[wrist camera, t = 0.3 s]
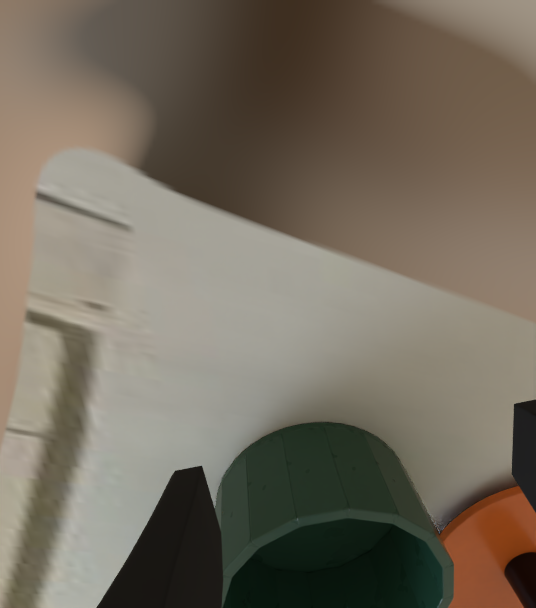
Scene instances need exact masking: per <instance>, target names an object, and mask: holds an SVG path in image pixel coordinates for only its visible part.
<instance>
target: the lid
mask: <svg viewBox="0 0 536 608" xmlns="http://www.w3.org/2000/svg"><path fill="white" fill-rule="evenodd" d="M440 537H441V539H442V541H443V543H444V545H445V547H446V549H447V551H448V553H449V555H450V557H451V559H452V561H453V563H454V597H453V600H452V602H451V604H450V605H449V607H448V608H536V512H535V511H534V509H533V508H532V506H531V505H530V503H529V502H528V500H527V498H526V497H525V495H524V494H523V492H522V490H521V489H520V487H519V486H516V487H512V488H509V489H506V490H503V491H500V492H498V493H495V494H493V495H491V496H489V497H486V498H484V499H483V500H481V501H479V502H477V503H475V504H474V505H472V506H471V507H469V508H468V509H466V510H465V511H463V512H462V513H461V514H460V515H458V516H457V517H456V518H455V519H454V520H452V521H451V522H450V523H449V524H448V525H447V526H446V528H445V529H444V530H443V531H442V532H441V533H440Z"/></svg>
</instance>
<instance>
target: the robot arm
mask: <svg viewBox="0 0 536 608" xmlns="http://www.w3.org/2000/svg"><path fill="white" fill-rule="evenodd" d="M512 475H513V477H514V479H515V480H516V482H517V484H518V485H519V487H520V489H521V490H522V492H523V494H524V495H525V497H526V498H527V500H528V502H529V503H530V505H531V506H532V508H533V509H534V511H535V512H536V400H531V401H526V402H521V403H516V404H514V423H513V452H512ZM222 592H223V559H222V538H221V530H220V526H219V523H218V519H217V516H216V512H215V509H214V505H213V502H212V499H211V495H210V492H209V488H208V485H207V481H206V478H205V474H204V471H203V468H202V466H198V467H193V468H188V469H183V470H177V471H175V472H174V474H173V475H172V476H171V478H170V480H169V482H168V484H167V486H166V488H165V490H164V492H163V494H162V496H161V498H160V500H159V502H158V504H157V506H156V508H155V510H154V512H153V514H152V516H151V517H150V519H149V521H148V523H147V525H146V527H145V528H144V530H143V532H142V534H141V536H140V537H139V539H138V541H137V543H136V544H135V546H134V548H133V550H132V551H131V553H130V555H129V557H128V558H127V560H126V562H125V563H124V565H123V567H122V568H121V570H120V571H119V573H118V575H117V576H116V578H115V579H114V581H113V583H112V584H111V586H110V587H109V589H108V591H107V592H106V594H105V595H104V597H103V599H102V600H101V602H100V603H99V605H98V606H97V608H222Z"/></svg>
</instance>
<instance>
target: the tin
mask: <svg viewBox="0 0 536 608" xmlns="http://www.w3.org/2000/svg"><path fill="white" fill-rule="evenodd" d="M215 512H216V516H217V519H218V523H219V526H220V530H221V538H222V559H223V592H222V608H448V607H449V605H450V604H451V602H452V600H453V597H454V563H453V561H452V559H451V557H450V555H449V553H448V551H447V549H446V547H445V545H444V543H443V541H442V539H441V537H440V535H439V534H438V532H437V530H436V528H435V526H434V524H433V522H432V520H431V518H430V516H429V514H428V512H427V510H426V508H425V506H424V504H423V502H422V501H421V499H420V497H419V495H418V493H417V491H416V489H415V487H414V485H413V483H412V481H411V479H410V477H409V475H408V474H407V472H406V471H405V469H404V467H403V466H402V464H401V462H400V460H399V458H398V457H397V456H396V454H395V453H394V451H393V450H392V449H391V448H390V447H389V446H388V445H387V444H386V443H384V442H383V441H382V440H380V439H379V438H377V437H376V436H374V435H372V434H370V433H369V432H367V431H365V430H362V429H359V428H356V427H353V426H349V425H345V424H339V423H329V422H317V423H307V424H300V425H295V426H291V427H287V428H284V429H281V430H279V431H276V432H273V433H271V434H269V435H267V436H265V437H263V438H261V439H260V440H258V441H257V442H255V443H253V444H252V445H251V446H249V447H248V448H247V449H246V450H244V451H243V452H242V453H241V454H240V455H239V456H238V457H237V458H236V459H235V460H234V462H233V463H232V464H231V466H230V467H229V468H228V470H227V471H226V473H225V475H224V477H223V479H222V481H221V483H220V486H219V489H218V493H217V499H216V506H215Z"/></svg>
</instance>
